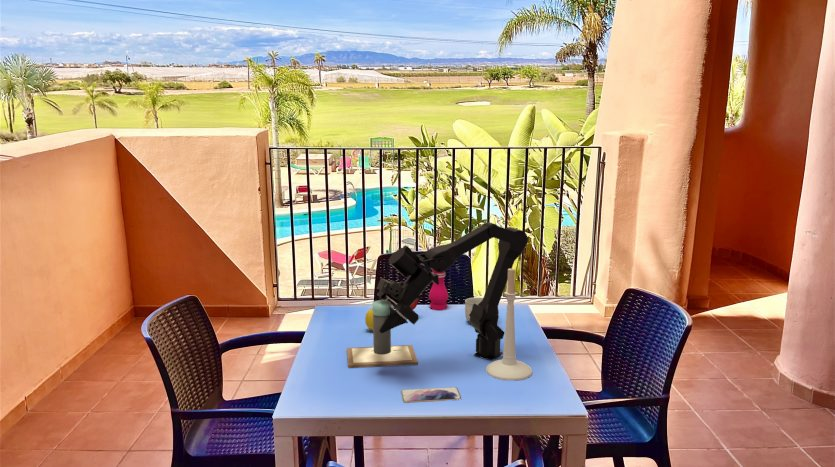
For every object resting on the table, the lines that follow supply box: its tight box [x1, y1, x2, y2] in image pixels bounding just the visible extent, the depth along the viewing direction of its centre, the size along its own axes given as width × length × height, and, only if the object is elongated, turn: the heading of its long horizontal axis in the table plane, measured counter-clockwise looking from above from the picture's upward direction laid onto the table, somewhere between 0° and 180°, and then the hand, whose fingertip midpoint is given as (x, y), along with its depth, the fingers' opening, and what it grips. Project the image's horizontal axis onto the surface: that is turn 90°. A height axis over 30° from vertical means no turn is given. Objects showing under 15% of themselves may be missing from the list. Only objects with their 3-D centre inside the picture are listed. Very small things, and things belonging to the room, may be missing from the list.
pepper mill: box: [428, 268, 449, 311], centre depth 244 cm, size 7×7×20 cm
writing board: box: [346, 344, 419, 369], centre depth 197 cm, size 20×14×1 cm
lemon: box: [364, 307, 373, 331], centre depth 219 cm, size 6×6×8 cm
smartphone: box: [400, 386, 462, 404], centre depth 171 cm, size 7×1×15 cm
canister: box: [371, 299, 392, 355], centre depth 183 cm, size 5×5×14 cm
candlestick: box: [485, 267, 533, 382], centre depth 183 cm, size 13×13×30 cm
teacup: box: [464, 297, 500, 322], centre depth 226 cm, size 14×11×8 cm
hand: (377, 329), depth 183 cm, fingers closed on canister, 5 cm apart
